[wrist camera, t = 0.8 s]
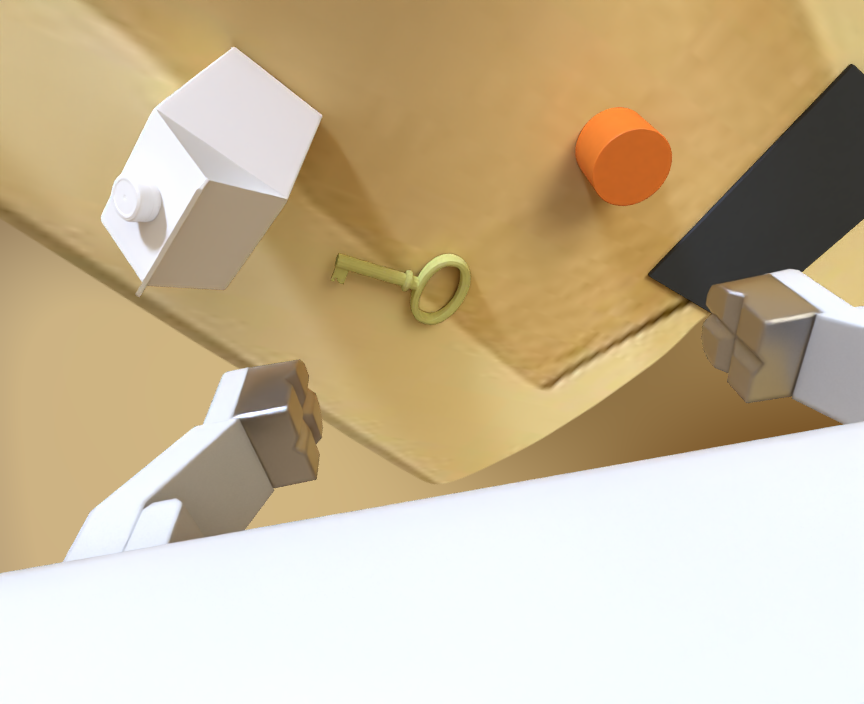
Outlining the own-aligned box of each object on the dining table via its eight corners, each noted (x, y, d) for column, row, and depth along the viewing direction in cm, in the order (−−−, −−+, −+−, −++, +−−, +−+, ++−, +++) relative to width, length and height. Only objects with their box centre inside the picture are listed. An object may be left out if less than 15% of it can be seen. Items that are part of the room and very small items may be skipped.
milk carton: (324, 114, 39) (274, 235, 25) (274, 187, 43) (204, 332, 28) (234, 44, 36) (116, 134, 22) (189, 128, 40) (60, 256, 25)
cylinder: (609, 92, 39) (631, 112, 35) (662, 131, 41) (689, 154, 37) (560, 158, 42) (576, 183, 38) (612, 191, 44) (632, 218, 40)
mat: (850, 63, 38) (854, 64, 38) (939, 149, 43) (943, 150, 42) (647, 274, 49) (649, 276, 49) (734, 325, 53) (736, 328, 53)
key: (332, 244, 46) (329, 256, 44) (474, 253, 47) (476, 266, 45) (333, 312, 50) (331, 326, 49) (462, 320, 52) (464, 333, 50)
